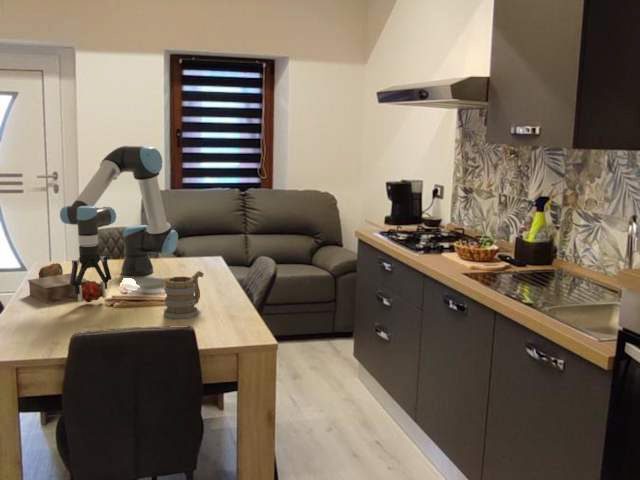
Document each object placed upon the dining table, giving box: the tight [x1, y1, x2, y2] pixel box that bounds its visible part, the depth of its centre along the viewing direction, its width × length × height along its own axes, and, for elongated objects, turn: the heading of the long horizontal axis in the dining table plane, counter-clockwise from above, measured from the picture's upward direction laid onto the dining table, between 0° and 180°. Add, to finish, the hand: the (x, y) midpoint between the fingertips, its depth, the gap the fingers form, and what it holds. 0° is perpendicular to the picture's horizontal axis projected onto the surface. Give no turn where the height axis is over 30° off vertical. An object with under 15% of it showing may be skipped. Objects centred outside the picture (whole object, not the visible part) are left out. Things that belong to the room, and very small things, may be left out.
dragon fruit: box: [82, 280, 103, 303], centre depth 264 cm, size 8×8×12 cm
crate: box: [27, 272, 90, 305], centre depth 277 cm, size 19×19×7 cm
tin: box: [38, 262, 64, 278], centre depth 299 cm, size 15×3×8 cm, turn 168°
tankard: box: [163, 270, 204, 320], centre depth 255 cm, size 20×13×15 cm, turn 148°
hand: (92, 299), depth 265 cm, fingers closed on dragon fruit, 9 cm apart
